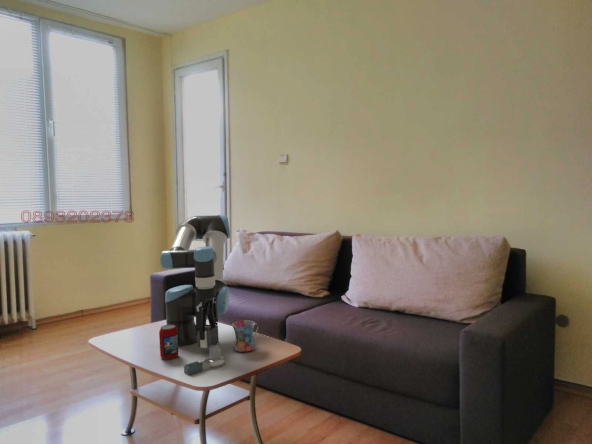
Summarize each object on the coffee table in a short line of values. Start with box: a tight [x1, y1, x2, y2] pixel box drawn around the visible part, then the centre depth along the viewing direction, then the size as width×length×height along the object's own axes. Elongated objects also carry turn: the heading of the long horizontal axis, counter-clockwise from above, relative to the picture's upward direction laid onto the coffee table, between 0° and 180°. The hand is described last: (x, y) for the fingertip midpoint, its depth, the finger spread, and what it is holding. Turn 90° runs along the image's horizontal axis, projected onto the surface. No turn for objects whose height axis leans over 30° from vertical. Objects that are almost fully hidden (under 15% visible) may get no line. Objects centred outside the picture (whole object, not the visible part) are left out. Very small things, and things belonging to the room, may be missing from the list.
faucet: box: [183, 344, 226, 376], centre depth 161 cm, size 7×15×7 cm, turn 132°
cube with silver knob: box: [197, 324, 220, 349], centre depth 177 cm, size 6×6×8 cm
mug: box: [231, 319, 260, 353], centre depth 179 cm, size 12×9×11 cm
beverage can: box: [158, 324, 179, 360], centre depth 173 cm, size 7×7×12 cm
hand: (208, 344), depth 177 cm, fingers closed on cube with silver knob, 6 cm apart
